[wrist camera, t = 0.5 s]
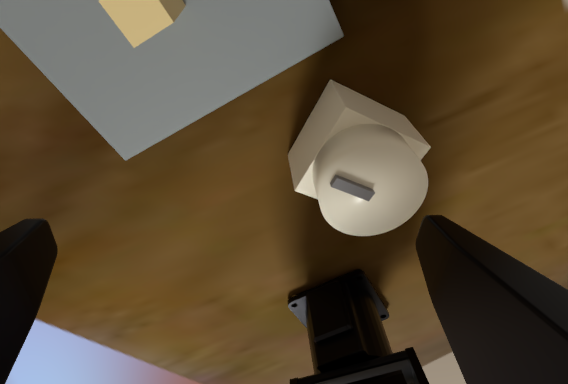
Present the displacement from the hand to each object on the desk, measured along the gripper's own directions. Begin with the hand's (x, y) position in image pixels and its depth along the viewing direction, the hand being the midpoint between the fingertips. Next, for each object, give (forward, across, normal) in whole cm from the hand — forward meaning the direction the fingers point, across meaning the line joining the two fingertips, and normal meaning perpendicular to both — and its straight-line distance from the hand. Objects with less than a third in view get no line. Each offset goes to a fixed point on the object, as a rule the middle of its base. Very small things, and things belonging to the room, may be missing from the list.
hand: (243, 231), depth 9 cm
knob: (+13, -6, +3) cm, 14 cm away
